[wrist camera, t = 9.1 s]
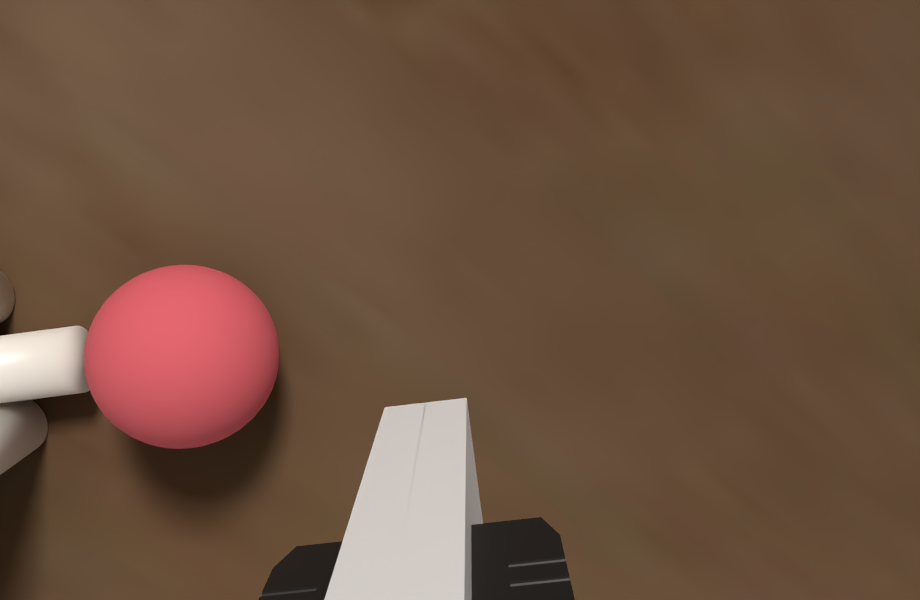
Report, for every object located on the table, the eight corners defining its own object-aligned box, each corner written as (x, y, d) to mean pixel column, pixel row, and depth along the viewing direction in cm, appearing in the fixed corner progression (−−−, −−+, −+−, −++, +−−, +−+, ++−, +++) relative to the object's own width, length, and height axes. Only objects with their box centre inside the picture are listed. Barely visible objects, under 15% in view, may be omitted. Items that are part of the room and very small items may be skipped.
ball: (23, 288, 23) (182, 250, 28) (68, 467, 24) (212, 400, 29) (146, 289, 20) (300, 246, 25) (191, 495, 21) (329, 415, 26)
